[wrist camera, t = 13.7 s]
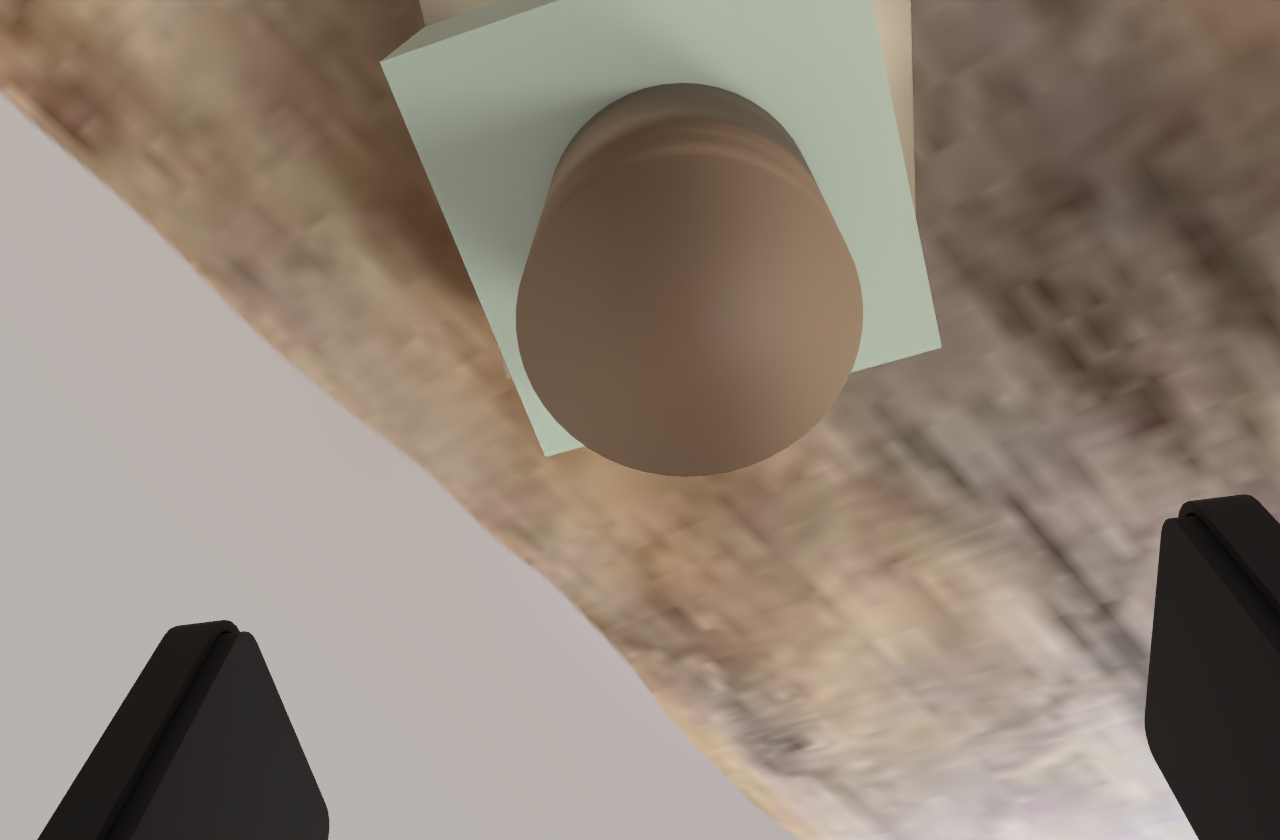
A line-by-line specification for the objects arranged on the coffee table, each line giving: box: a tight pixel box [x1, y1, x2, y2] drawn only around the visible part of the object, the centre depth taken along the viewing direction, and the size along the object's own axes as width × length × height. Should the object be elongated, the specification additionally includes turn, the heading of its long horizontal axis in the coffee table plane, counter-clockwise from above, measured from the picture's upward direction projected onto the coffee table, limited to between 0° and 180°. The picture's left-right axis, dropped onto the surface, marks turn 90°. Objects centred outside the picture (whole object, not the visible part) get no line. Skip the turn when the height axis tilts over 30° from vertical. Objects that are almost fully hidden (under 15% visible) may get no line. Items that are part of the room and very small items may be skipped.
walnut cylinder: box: [516, 83, 863, 477], centre depth 21 cm, size 6×6×6 cm
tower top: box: [380, 0, 942, 457], centre depth 26 cm, size 10×10×5 cm
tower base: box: [419, 0, 916, 379], centre depth 30 cm, size 12×12×5 cm
